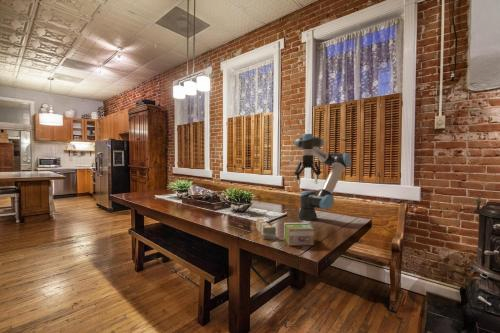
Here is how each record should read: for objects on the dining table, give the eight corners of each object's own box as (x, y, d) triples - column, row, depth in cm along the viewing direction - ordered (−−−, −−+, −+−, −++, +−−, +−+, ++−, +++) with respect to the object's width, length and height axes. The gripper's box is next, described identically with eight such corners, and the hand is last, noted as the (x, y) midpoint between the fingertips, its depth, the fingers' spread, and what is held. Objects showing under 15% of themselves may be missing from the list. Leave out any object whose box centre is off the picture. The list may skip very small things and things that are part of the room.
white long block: (253, 228, 178) (253, 218, 178) (264, 227, 180) (264, 218, 179) (263, 239, 155) (263, 228, 155) (275, 238, 157) (275, 227, 157)
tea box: (306, 221, 158) (315, 229, 144) (306, 237, 159) (314, 246, 144) (283, 222, 157) (289, 229, 142) (283, 237, 158) (289, 246, 143)
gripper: (294, 155, 176) (293, 184, 178) (325, 154, 182) (325, 183, 183) (289, 155, 184) (289, 183, 185) (320, 154, 190) (320, 182, 191)
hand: (307, 183), depth 184 cm, fingers open, 13 cm apart
